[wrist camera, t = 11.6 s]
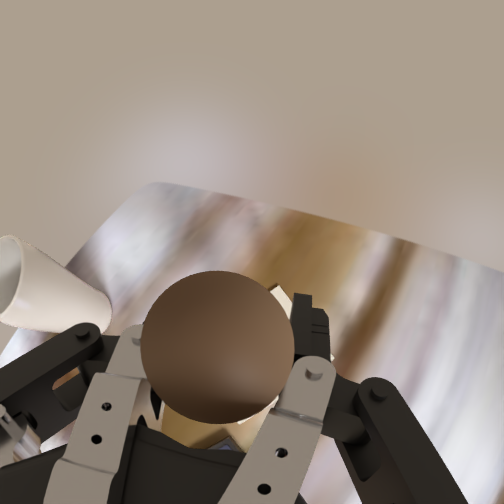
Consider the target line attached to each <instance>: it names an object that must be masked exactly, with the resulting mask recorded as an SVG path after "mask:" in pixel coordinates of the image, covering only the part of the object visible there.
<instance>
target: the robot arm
mask: <svg viewBox="0 0 504 504" xmlns="http://www.w3.org/2000/svg"><path fill="white" fill-rule="evenodd" d="M289 321H290V324H291V327H292V331H293V337H294V350H295V351H294V361H293V365H292V369H291V373H290V375H289V378H288V380H287V382H286V384H285V386H284V387H283V389H282V391H281V392H280V393H279V395H278V400H277V403H276V405H275V406H274V408H271V409H270V411H269V413H268V414H267V416H266V418H265V420H264V422H263V424H262V426H261V428H260V430H259V432H258V434H257V436H256V438H255V439H254V441H253V443H252V445H251V447H250V449H249V451H248V452H247V453H243V452H238V451H233V450H228V449H191V448H188V447H186V446H184V445H182V444H180V443H179V442H177V441H175V440H173V439H172V438H170V437H168V436H166V435H165V434H163V433H161V423H162V417H163V411H164V405H165V403H164V402H163V401H162V400H161V398H160V397H159V396H158V395H157V394H156V392H155V391H154V390H153V388H152V387H151V385H150V383H149V381H148V379H147V377H146V374H145V371H144V369H143V365H142V360H141V352H140V341H141V334H142V329H143V325H144V322H145V321H144V322H143V324H139V325H133V326H130V327H128V328H127V329H125V330H124V331H123V332H122V334H121V336H107V335H101V332H100V329H99V327H98V326H97V325H95V324H93V323H89V322H83V323H79V324H76V325H74V326H72V327H70V328H69V329H67V330H65V331H63V332H62V333H60V334H58V335H56V336H55V337H53V338H51V339H50V340H48V341H46V342H44V343H43V344H41V345H39V346H38V347H36V348H34V349H32V350H31V351H29V352H27V353H26V354H24V355H22V356H21V357H19V358H17V359H15V360H14V361H12V362H10V363H9V364H7V365H5V366H4V367H2V368H0V504H307V503H306V501H305V500H304V498H303V497H302V496H301V494H300V493H299V490H300V488H301V486H302V483H303V480H304V478H305V475H306V473H307V470H308V467H309V465H310V462H311V459H312V456H313V454H314V451H315V448H316V445H317V442H318V439H319V436H320V434H323V435H325V436H328V437H331V438H334V440H335V443H336V445H337V448H338V450H339V452H340V454H341V457H342V459H343V461H344V463H345V466H346V468H347V470H348V472H349V475H350V477H351V479H352V482H353V484H354V486H355V488H356V491H357V493H358V495H359V497H360V500H361V502H362V504H468V502H467V500H466V499H465V497H464V495H463V494H462V492H461V490H460V488H459V487H458V485H457V483H456V482H455V480H454V478H453V477H452V475H451V473H450V472H449V470H448V468H447V467H446V465H445V463H444V462H443V460H442V458H441V457H440V455H439V454H438V452H437V450H436V449H435V447H434V446H433V444H432V442H431V441H430V439H429V438H428V436H427V434H426V433H425V431H424V430H423V428H422V427H421V425H420V423H419V422H418V420H417V419H416V417H415V416H414V414H413V413H412V411H411V410H410V408H409V407H408V405H407V404H406V402H405V400H404V399H403V397H402V396H401V394H400V393H399V391H398V390H397V388H396V387H395V386H394V385H393V384H392V383H391V382H389V381H388V380H386V379H383V378H378V377H372V378H368V379H365V380H364V381H362V382H361V384H358V383H355V382H352V381H349V380H347V379H345V378H343V377H341V376H340V375H338V374H337V373H336V370H335V368H334V366H333V365H332V364H331V353H330V335H329V317H328V316H327V314H326V313H325V311H324V310H323V309H319V308H312V295H307V294H299V293H294V296H293V302H292V308H291V313H290V319H289ZM76 367H77V368H78V370H79V374H78V375H76V376H75V377H73V378H72V379H70V380H69V381H67V382H66V383H64V384H63V385H61V386H60V387H58V388H57V389H55V390H52V386H53V384H54V382H55V381H56V380H57V379H59V378H61V377H62V376H64V375H65V374H67V373H68V372H70V371H71V370H73V369H74V368H76ZM75 419H76V422H75V425H74V428H73V430H72V433H71V436H70V439H69V442H68V444H65V445H62V446H60V447H57V448H55V449H52V450H49V451H46V452H44V453H41V450H40V446H41V444H42V443H43V442H44V441H46V440H47V439H49V438H50V437H51V436H53V435H54V434H56V433H57V432H59V431H60V430H61V429H63V428H64V427H66V426H67V425H68V424H70V423H71V422H72V421H74V420H75Z"/></svg>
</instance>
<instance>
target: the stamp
mask: <svg viewBox="0 0 504 504" xmlns="http://www.w3.org/2000/svg"><path fill="white" fill-rule="evenodd" d="M294 351H295V350H294V337H293V331H292V327H291V324H290V321H289V319H288V317H287V314H286V312H285V310H284V309H283V307H282V306H281V304H280V303H279V301H278V300H277V299H276V298H275V297H274V296H273V294H272V293H270V292H269V291H268V290H267V289H266V288H265V287H263V286H262V285H260V284H259V283H258V282H256V281H254V280H252V279H250V278H248V277H246V276H243V275H240V274H237V273H232V272H226V271H207V272H201V273H197V274H193V275H190V276H188V277H185V278H183V279H181V280H179V281H178V282H176V283H174V284H173V285H171V286H170V287H169V288H168V289H166V290H165V291H164V292H163V293H162V294H161V295H160V296H159V297H158V299H157V300H156V301H155V303H154V304H153V305H152V307H151V309H150V311H149V312H148V315H147V317H146V319H145V322H144V325H143V329H142V334H141V341H140V352H141V360H142V365H143V369H144V371H145V374H146V377H147V379H148V381H149V383H150V385H151V387H152V388H153V390H154V391H155V392H156V394H157V395H158V396H159V397H160V398H161V400H162V401H163V402H164V403H165V404H167V405H168V406H169V407H170V408H171V409H173V410H174V411H176V412H178V413H179V414H181V415H183V416H185V417H187V418H189V419H192V420H195V421H198V422H203V423H209V424H227V423H234V422H238V421H241V420H244V419H247V418H249V417H252V416H253V415H255V414H257V413H259V412H260V411H262V410H263V409H264V408H266V407H267V406H268V405H269V404H270V403H271V402H272V401H274V400H275V399H276V397H277V396H278V395H279V393H280V392H281V391H282V389H283V387H284V386H285V384H286V382H287V380H288V378H289V375H290V373H291V369H292V365H293V361H294Z"/></svg>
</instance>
